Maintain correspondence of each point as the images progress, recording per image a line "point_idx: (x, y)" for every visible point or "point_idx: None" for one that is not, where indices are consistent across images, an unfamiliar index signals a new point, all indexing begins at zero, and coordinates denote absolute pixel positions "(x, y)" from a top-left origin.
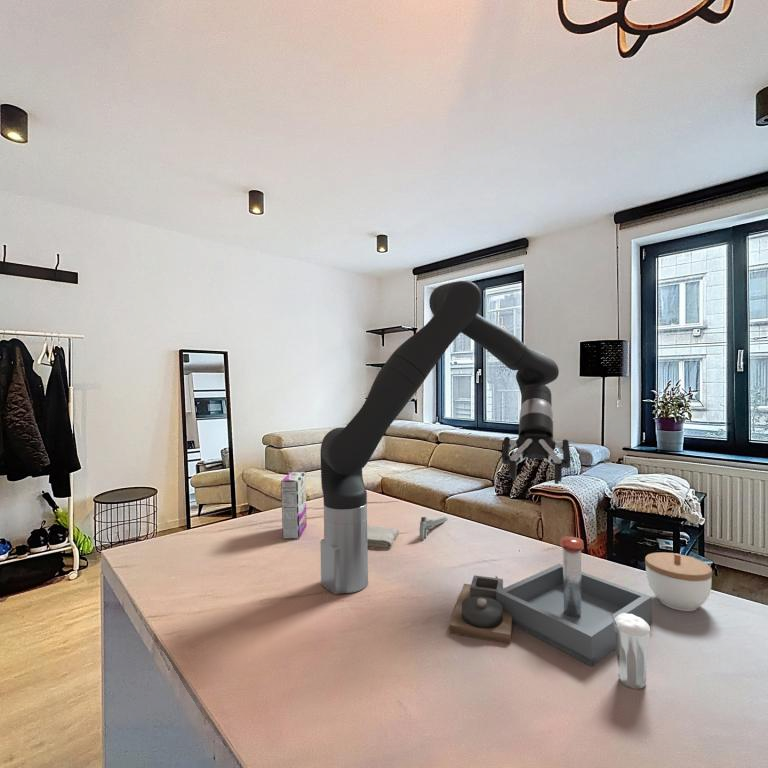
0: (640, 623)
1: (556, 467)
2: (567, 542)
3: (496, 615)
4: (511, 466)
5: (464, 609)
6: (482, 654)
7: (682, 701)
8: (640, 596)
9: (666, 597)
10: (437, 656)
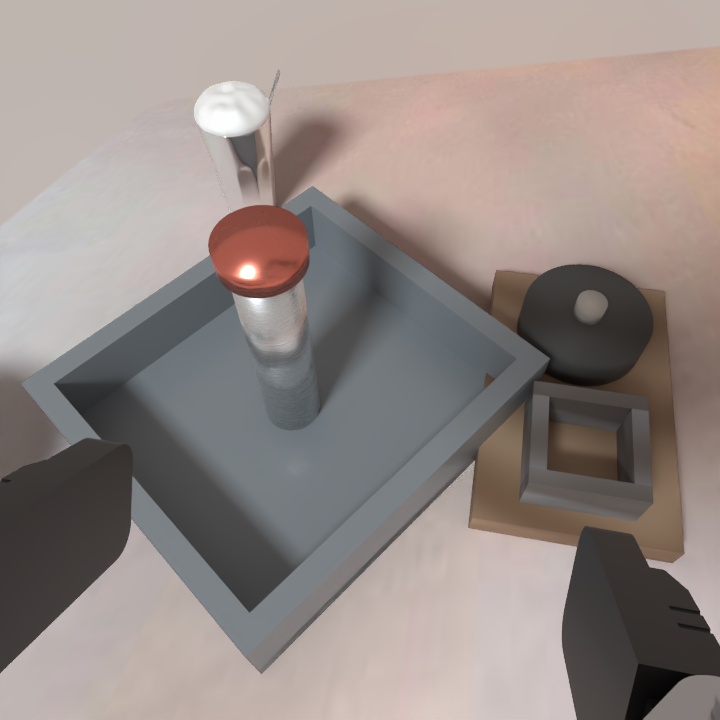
0: (217, 87)
1: (7, 498)
2: (287, 214)
3: (539, 277)
4: (690, 647)
5: (637, 290)
6: (558, 245)
7: (188, 177)
8: (56, 385)
9: None
10: (660, 228)
